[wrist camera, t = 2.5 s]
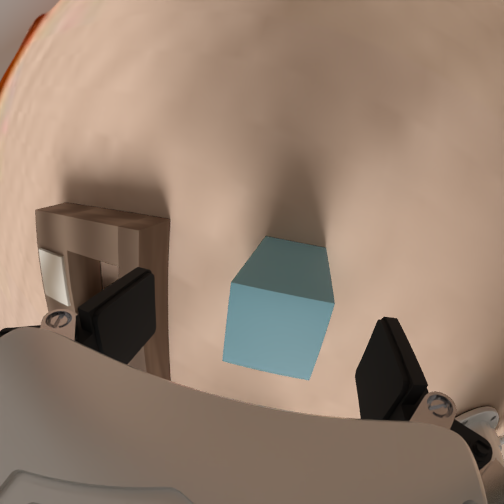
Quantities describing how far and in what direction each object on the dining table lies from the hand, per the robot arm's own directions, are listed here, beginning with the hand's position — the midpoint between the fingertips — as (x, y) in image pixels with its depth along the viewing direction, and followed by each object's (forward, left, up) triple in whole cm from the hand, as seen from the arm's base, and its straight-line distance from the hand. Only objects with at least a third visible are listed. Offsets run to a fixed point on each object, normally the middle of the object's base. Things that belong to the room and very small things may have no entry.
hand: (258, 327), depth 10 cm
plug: (-1, 0, -8) cm, 8 cm away
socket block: (+14, +9, -8) cm, 19 cm away
